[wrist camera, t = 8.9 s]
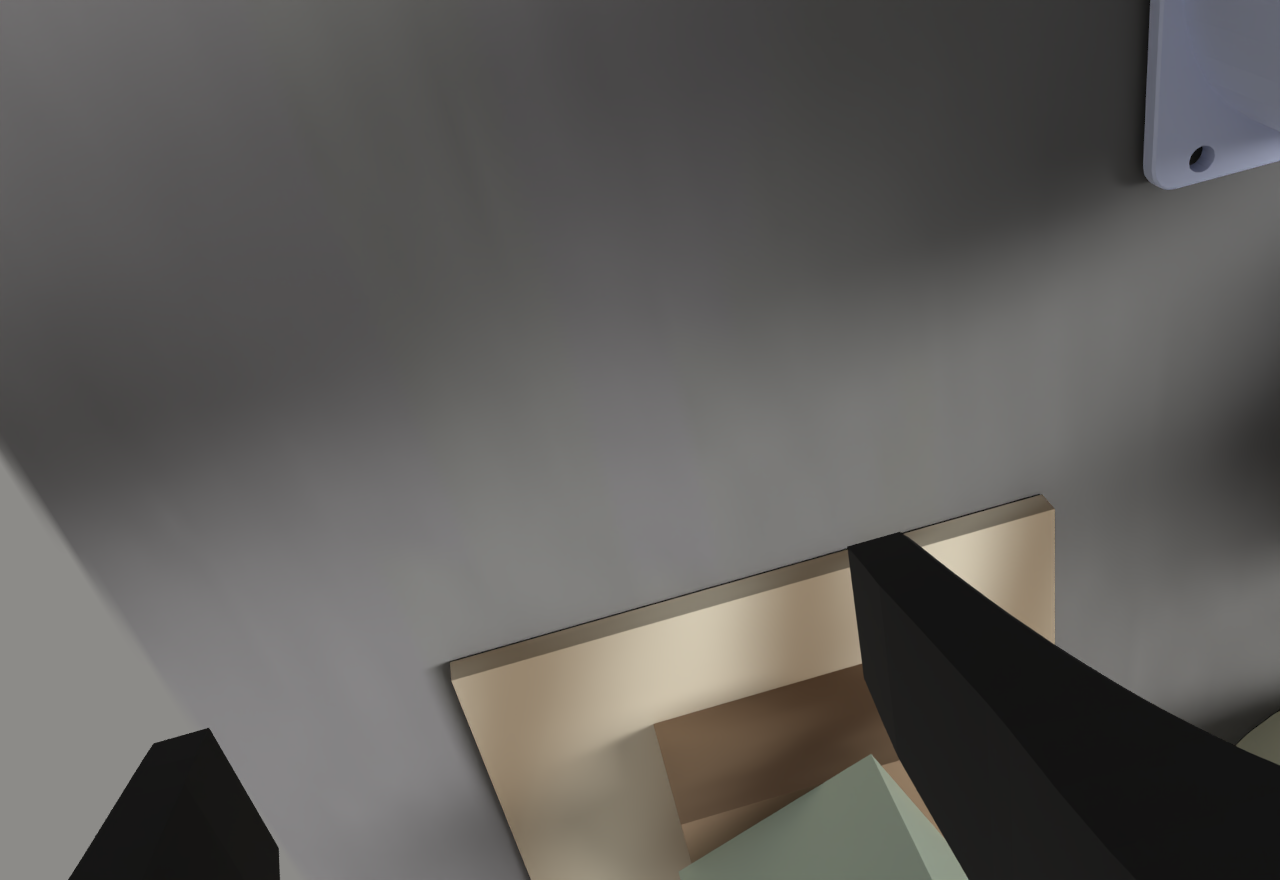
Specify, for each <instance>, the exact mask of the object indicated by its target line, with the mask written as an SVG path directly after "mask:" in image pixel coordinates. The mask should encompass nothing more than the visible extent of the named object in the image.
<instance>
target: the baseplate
mask: <svg viewBox="0 0 1280 880" xmlns="http://www.w3.org/2000/svg"><path fill="white" fill-rule="evenodd" d="M904 535H906V536H907V537H909V538H910V539H912V540H913V541H914V542H915V543H917V544H918V545H919V546H920V547H922V548H923V549H924V550H926V551H927V552H928V553H929V554H931V555H932V556H933V557H934V558H936V559H937V560H938V561H939V562H941V563H942V564H943V565H945V566H946V567H947V568H948V569H950V570H951V571H952V572H954V573H955V574H956V575H958V576H959V577H960V578H961V579H963V580H964V581H965V582H967V583H968V584H970V585H971V586H972V587H974V588H975V589H976V590H978V591H979V592H980V593H982V594H983V595H984V596H986V597H987V598H988V599H990V600H991V601H992V602H994V603H995V604H997V605H998V606H999V607H1001V608H1002V609H1004V610H1005V611H1006V612H1008V613H1009V614H1011V615H1012V616H1014V617H1015V618H1016V619H1018V620H1019V621H1021V622H1022V623H1024V624H1025V625H1027V626H1028V627H1030V628H1031V629H1033V630H1034V631H1035V632H1037V633H1038V634H1040V635H1041V636H1043V637H1044V638H1046V639H1047V640H1049V641H1050V642H1052V643H1053V644H1054V645H1055V509H1054V508H1053V506H1052V505H1051V504H1050V503H1049V502H1048V501H1047V500H1046V498H1045V497H1044V496H1043V495H1038V496H1035V497H1031V498H1027V499H1024V500H1020V501H1017V502H1013V503H1010V504H1006V505H1003V506H999V507H996V508H992V509H989V510H985V511H982V512H978V513H975V514H971V515H968V516H964V517H961V518H957V519H953V520H950V521H946V522H943V523H939V524H936V525H932V526H929V527H925V528H922V529H918V530H915V531H911V532H908V533H904ZM450 669H451V681H452V684H453V686H454V689H455V691H456V694H457V696H458V699H459V701H460V704H461V706H462V709H463V711H464V714H465V716H466V719H467V721H468V724H469V726H470V729H471V731H472V734H473V736H474V739H475V741H476V744H477V746H478V749H479V751H480V754H481V756H482V759H483V761H484V764H485V766H486V769H487V771H488V774H489V776H490V779H491V781H492V784H493V786H494V789H495V791H496V794H497V796H498V799H499V801H500V804H501V806H502V809H503V811H504V814H505V816H506V819H507V821H508V824H509V826H510V829H511V831H512V834H513V836H514V839H515V841H516V844H517V846H518V849H519V851H520V854H521V856H522V859H523V861H524V864H525V866H526V869H527V871H528V874H529V876H530V879H531V880H680V876H679V871H680V870H682V869H684V868H685V867H687V866H688V865H690V864H692V863H693V862H695V861H697V860H698V859H700V858H702V857H703V856H705V855H706V854H708V853H710V852H711V851H713V850H715V849H716V848H718V847H720V846H721V845H723V844H724V843H726V842H728V841H729V840H731V839H733V838H734V837H736V836H738V835H739V834H741V833H742V832H744V831H746V830H747V829H749V828H751V827H752V826H754V825H756V824H757V823H759V822H760V821H762V820H764V819H765V818H767V817H769V816H770V815H772V814H773V813H775V812H777V811H778V810H780V809H782V808H783V807H785V806H787V805H788V804H790V803H791V802H793V801H795V800H796V799H798V798H800V797H801V796H803V795H805V794H806V793H808V792H809V791H811V790H813V789H814V788H816V787H818V786H819V785H821V784H823V783H824V782H826V781H827V780H829V779H831V778H832V777H834V776H836V775H837V774H839V773H840V772H842V771H844V770H845V769H847V768H849V767H850V766H852V765H854V764H855V763H857V762H858V761H860V760H862V759H863V758H865V757H867V756H868V755H870V754H872V756H873V757H874V758H875V759H876V760H877V761H878V762H879V764H880V765H881V766H882V767H883V768H884V769H885V771H886V772H887V773H888V774H889V775H890V776H891V777H892V779H893V780H894V781H895V782H896V783H897V784H898V786H899V787H900V788H901V789H902V790H903V791H904V792H905V794H906V795H907V796H908V797H909V798H910V799H911V801H912V802H913V803H914V804H915V805H916V806H917V807H918V809H919V810H920V811H921V812H922V813H923V814H924V816H925V817H926V818H927V819H928V820H929V821H930V822H931V824H932V825H933V826H934V827H935V828H936V829H937V831H938V832H939V833H940V834H941V835H942V833H941V831H940V830H939V828H938V826H937V824H936V823H935V821H934V819H933V818H932V816H931V814H930V812H929V811H928V809H927V807H926V805H925V804H924V802H923V800H922V798H921V797H920V795H919V793H918V792H917V790H916V788H915V786H914V785H913V783H912V781H911V779H910V778H909V776H908V774H907V772H906V771H905V769H904V767H903V765H902V763H901V762H900V760H899V758H898V756H897V754H896V752H895V749H894V747H893V745H892V743H891V740H890V738H889V736H888V734H887V731H886V729H885V727H884V725H883V722H882V720H881V718H880V715H879V713H878V710H877V708H876V706H875V703H874V701H873V699H872V696H871V694H870V692H869V689H868V687H867V684H866V682H865V680H864V675H863V668H862V660H861V652H860V644H859V636H858V628H857V620H856V612H855V604H854V596H853V588H852V581H851V573H850V565H849V557H848V550H844V551H841V552H837V553H834V554H830V555H827V556H823V557H820V558H816V559H813V560H809V561H805V562H802V563H798V564H795V565H791V566H788V567H784V568H781V569H777V570H774V571H770V572H767V573H763V574H760V575H756V576H753V577H749V578H746V579H742V580H739V581H735V582H731V583H728V584H724V585H721V586H717V587H714V588H710V589H707V590H703V591H700V592H696V593H693V594H689V595H686V596H682V597H679V598H675V599H672V600H668V601H665V602H661V603H657V604H654V605H650V606H647V607H643V608H640V609H636V610H633V611H629V612H626V613H622V614H619V615H615V616H612V617H608V618H605V619H601V620H598V621H594V622H591V623H587V624H583V625H580V626H576V627H573V628H569V629H566V630H562V631H559V632H555V633H552V634H548V635H545V636H541V637H538V638H534V639H531V640H527V641H524V642H520V643H517V644H513V645H509V646H506V647H502V648H499V649H495V650H492V651H488V652H485V653H481V654H478V655H474V656H471V657H467V658H464V659H460V660H457V661H453V662H450ZM942 836H943V835H942ZM943 837H944V836H943ZM944 839H945V838H944Z"/></svg>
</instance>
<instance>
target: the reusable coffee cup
mask: <svg viewBox="0 0 1280 880" xmlns="http://www.w3.org/2000/svg"><path fill="white" fill-rule="evenodd" d="M1236 746H1237V747H1239V748H1241V749H1243V750H1245V751H1247V752H1250V753H1252V754H1254V755H1257V756H1259V757H1261V758H1264V759H1266V760H1269V761H1271V762H1273V763H1276V764H1278V765H1280V711H1278V712H1277V713H1275V714H1273V715H1272V716H1271V717H1269V718H1268V719H1267V720H1265V721H1264V722H1263V723H1261V724H1260V725H1259V726H1257V727H1256V728H1255V729H1253V730H1252V731H1251V732H1249V733H1248V734H1247V735H1246V736H1245V737H1244V738H1243V739H1242V740H1241V741H1240V742H1239V743H1238V744H1237V745H1236Z"/></svg>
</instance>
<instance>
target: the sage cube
mask: <svg viewBox="0 0 1280 880" xmlns="http://www.w3.org/2000/svg"><path fill="white" fill-rule="evenodd" d="M679 876H680V880H969V879H968V878H967V876H966V874H965V873H964V871H963V869H962V867H961V866H960V864H959V862H958V861H957V859H956V857H955V855H954V854H953V852H952V850H951V848H950V847H949V845H948V843H947V842H946V840H945V839H944V837H943V836H942V835H941V834H940V833H939V832H938V831H937V829H936V828H935V827H934V826H933V825H932V824H931V822H930V821H929V820H928V819H927V818H926V817H925V816H924V814H923V813H922V812H921V811H920V810H919V809H918V807H917V806H916V805H915V804H914V803H913V802H912V801H911V799H910V798H909V797H908V796H907V795H906V794H905V792H904V791H903V790H902V789H901V788H900V787H899V786H898V784H897V783H896V782H895V781H894V780H893V779H892V777H891V776H890V775H889V774H888V773H887V772H886V771H885V769H884V768H883V767H882V766H881V765H880V764H879V762H878V761H877V760H876V759H875V758H874V757H873V756H872V754H870V755H868V756H867V757H865V758H863V759H862V760H860V761H858V762H857V763H855V764H854V765H852V766H850V767H849V768H847V769H845V770H844V771H842V772H840V773H839V774H837V775H836V776H834V777H832V778H831V779H829V780H827V781H826V782H824V783H823V784H821V785H819V786H818V787H816V788H814V789H813V790H811V791H809V792H808V793H806V794H805V795H803V796H801V797H800V798H798V799H796V800H795V801H793V802H791V803H790V804H788V805H787V806H785V807H783V808H782V809H780V810H778V811H777V812H775V813H773V814H772V815H770V816H769V817H767V818H765V819H764V820H762V821H760V822H759V823H757V824H756V825H754V826H752V827H751V828H749V829H747V830H746V831H744V832H742V833H741V834H739V835H738V836H736V837H734V838H733V839H731V840H729V841H728V842H726V843H724V844H723V845H721V846H720V847H718V848H716V849H715V850H713V851H711V852H710V853H708V854H706V855H705V856H703V857H702V858H700V859H698V860H697V861H695V862H693V863H692V864H690V865H688V866H687V867H685V868H684V869H682V870H680V871H679Z"/></svg>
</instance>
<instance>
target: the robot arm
mask: <svg viewBox="0 0 1280 880" xmlns="http://www.w3.org/2000/svg"><path fill="white" fill-rule="evenodd" d="M1201 146H1202V148H1203V150H1202V153H1201V157H1200V158H1199V159H1198V160H1197V161H1196V163H1194V164H1192V165H1189V161H1190V158H1191V155H1192V154H1193V153H1194V151H1195V150H1196V149H1198V148H1200V147H1201ZM1278 161H1280V0H1150V19H1149V42H1148V65H1147V88H1146V111H1145V133H1144V156H1143V169H1144V175H1145V177H1146V178H1147V179H1148V181H1149V182H1150V183H1152V184H1154V185H1156V186H1158V187H1160V188H1162V189H1165V190H1171V189H1178V188H1181V187H1185V186H1189V185H1192V184H1196V183H1200V182H1203V181H1207V180H1211V179H1215V178H1218V177H1222V176H1226V175H1229V174H1233V173H1237V172H1241V171H1244V170H1248V169H1252V168H1255V167H1259V166H1263V165H1266V164H1270V163H1274V162H1278ZM847 549H848V557H849V565H850V573H851V581H852V588H853V596H854V604H855V612H856V620H857V628H858V636H859V644H860V652H861V660H862V668H863V675H864V680H865V682H866V684H867V687H868V689H869V692H870V694H871V696H872V699H873V701H874V703H875V706H876V708H877V710H878V713H879V715H880V718H881V720H882V722H883V725H884V727H885V729H886V731H887V734H888V736H889V738H890V740H891V743H892V745H893V747H894V749H895V752H896V754H897V756H898V758H899V760H900V762H901V763H902V765H903V767H904V769H905V771H906V772H907V774H908V776H909V778H910V779H911V781H912V783H913V785H914V786H915V788H916V790H917V792H918V793H919V795H920V797H921V798H922V800H923V802H924V804H925V805H926V807H927V809H928V811H929V812H930V814H931V816H932V818H933V819H934V821H935V823H936V824H937V826H938V828H939V830H940V831H941V833H942V835H943V836H944V838H945V840H946V842H947V843H948V845H949V847H950V848H951V850H952V852H953V854H954V855H955V857H956V859H957V861H958V862H959V864H960V866H961V867H962V869H963V871H964V873H965V874H966V876H967V878H968V879H969V880H1280V765H1278V764H1276V763H1273V762H1271V761H1269V760H1266V759H1264V758H1261V757H1259V756H1257V755H1254V754H1252V753H1250V752H1247V751H1245V750H1243V749H1241V748H1239V747H1237V746H1235V745H1232V744H1230V743H1228V742H1226V741H1224V740H1222V739H1220V738H1217V737H1215V736H1213V735H1211V734H1209V733H1207V732H1205V731H1203V730H1201V729H1199V728H1197V727H1196V726H1194V725H1192V724H1190V723H1188V722H1186V721H1184V720H1182V719H1180V718H1178V717H1176V716H1174V715H1172V714H1170V713H1168V712H1167V711H1165V710H1163V709H1161V708H1159V707H1157V706H1156V705H1154V704H1152V703H1150V702H1148V701H1147V700H1145V699H1143V698H1141V697H1139V696H1138V695H1136V694H1134V693H1132V692H1131V691H1129V690H1127V689H1126V688H1124V687H1122V686H1120V685H1119V684H1117V683H1115V682H1114V681H1112V680H1110V679H1109V678H1107V677H1106V676H1104V675H1102V674H1101V673H1099V672H1097V671H1096V670H1094V669H1092V668H1091V667H1089V666H1087V665H1086V664H1084V663H1082V662H1081V661H1079V660H1078V659H1076V658H1075V657H1073V656H1072V655H1070V654H1068V653H1067V652H1065V651H1064V650H1062V649H1061V648H1059V647H1058V646H1056V645H1054V644H1053V643H1052V642H1050V641H1049V640H1047V639H1046V638H1044V637H1043V636H1041V635H1040V634H1038V633H1037V632H1035V631H1034V630H1033V629H1031V628H1030V627H1028V626H1027V625H1025V624H1024V623H1022V622H1021V621H1019V620H1018V619H1016V618H1015V617H1014V616H1012V615H1011V614H1009V613H1008V612H1006V611H1005V610H1004V609H1002V608H1001V607H999V606H998V605H997V604H995V603H994V602H992V601H991V600H990V599H988V598H987V597H986V596H984V595H983V594H982V593H980V592H979V591H978V590H976V589H975V588H974V587H972V586H971V585H970V584H968V583H967V582H965V581H964V580H963V579H961V578H960V577H959V576H958V575H956V574H955V573H954V572H952V571H951V570H950V569H948V568H947V567H946V566H945V565H943V564H942V563H941V562H939V561H938V560H937V559H936V558H934V557H933V556H932V555H931V554H929V553H928V552H927V551H926V550H924V549H923V548H922V547H920V546H919V545H918V544H917V543H915V542H914V541H913V540H912V539H910V538H909V537H907V536H906V535H904V534H902V533H900V532H898V533H894V534H891V535H887V536H884V537H880V538H877V539H873V540H870V541H866V542H862V543H859V544H855V545H852V546H848V547H847ZM279 873H280V872H279V848H278V846H277V844H276V843H275V841H274V839H273V837H272V836H271V834H270V832H269V831H268V829H267V827H266V825H265V824H264V822H263V820H262V818H261V817H260V815H259V813H258V812H257V810H256V808H255V806H254V805H253V803H252V801H251V799H250V798H249V796H248V794H247V793H246V791H245V789H244V787H243V786H242V784H241V782H240V780H239V779H238V777H237V775H236V774H235V772H234V770H233V768H232V767H231V765H230V763H229V761H228V760H227V758H226V756H225V755H224V753H223V751H222V749H221V748H220V746H219V744H218V742H217V741H216V739H215V737H214V736H213V734H212V732H211V730H210V729H209V728H207V729H203V730H200V731H196V732H193V733H189V734H186V735H182V736H179V737H175V738H172V739H168V740H164V741H161V742H157V743H154V744H153V745H152V747H151V748H150V750H149V751H148V753H147V755H146V756H145V757H144V759H143V760H142V762H141V764H140V766H139V767H138V769H137V770H136V772H135V773H134V775H133V776H132V778H131V780H130V781H129V783H128V785H127V786H126V788H125V789H124V791H123V793H122V794H121V796H120V798H119V799H118V801H117V802H116V804H115V806H114V807H113V809H112V810H111V812H110V814H109V815H108V817H107V819H106V820H105V822H104V824H103V825H102V827H101V829H100V830H99V832H98V833H97V835H96V836H95V838H94V840H93V841H92V843H91V845H90V846H89V848H88V849H87V851H86V852H85V854H84V856H83V857H82V859H81V861H80V862H79V864H78V865H77V867H76V868H75V870H74V872H73V873H72V875H71V876H70V878H69V879H68V880H280V874H279Z"/></svg>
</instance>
